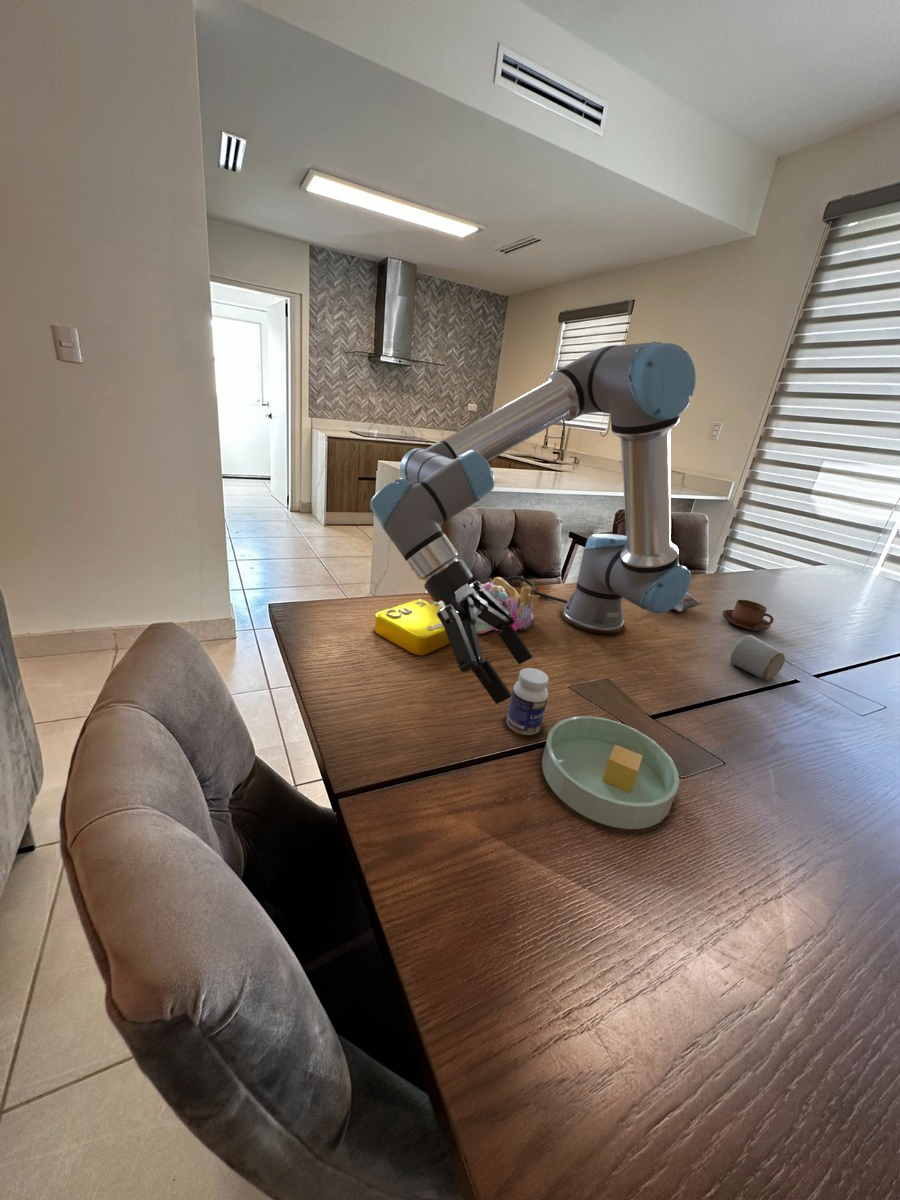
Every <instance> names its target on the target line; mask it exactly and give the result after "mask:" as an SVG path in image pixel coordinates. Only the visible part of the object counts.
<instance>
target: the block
mask: <svg viewBox="0 0 900 1200" xmlns="http://www.w3.org/2000/svg"><path fill="white" fill-rule="evenodd" d="M642 757H643V756H642V755H640V754H637V753H635V752H633V751H630V750H628V749H625V748H623V747H620V746H618V745H616V744H615V745H614V748H613V750H612V753H611V755H610V758H609V761H608V764H607V767H606V770H605V773H604V777H603V780H602V781H604V782H606V783H608V784H610V785H613V786H615V787H617V788H619V789H622V790H624V791H626V792H628V793H631V791H632V788H633V785H634V782H635V779H636V776H637V773H638V770H639V767H640V764H641V760H642Z"/></svg>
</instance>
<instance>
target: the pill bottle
mask: <svg viewBox="0 0 900 1200" xmlns="http://www.w3.org/2000/svg"><path fill="white" fill-rule="evenodd" d="M549 678H550V677H549V676H548V674H546V673H545V672H544V671H543V670H541V669H537V668H533V667H525V668H522V669H521V670H519V673H518V677H517V680H518V681H516V682H515V684H514V685H513V688H512V692H511V694H512V696H511V697H510V702H509V708H508V710H507V716H506V724H507V726H508V727H509V728H510V729H511V730H512V731H514V732H516V733H518V734H521V735H525V736H526V735H529V736H530V735H531V736H532V735H535V734H537V733H539V732H540V731H541V729H542V724H543V719H544V715H545V711H546V708H547V707H546V706H547V703H548V702H547V701H548V698H549V690H548V689H547V687H548V684H549V680H550V679H549Z"/></svg>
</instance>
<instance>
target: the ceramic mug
mask: <svg viewBox="0 0 900 1200" xmlns="http://www.w3.org/2000/svg"><path fill="white" fill-rule="evenodd" d="M785 663H786V656H785V654H784V653H783V652H782V651H781V650H780V649H778V648H776V647H774V646H772V645H771V644H768V643H766V642H764V641H763V640H761V639H759V638H757V637H755V636H754V635H751V634H748V635H746V636H744V637H742V638H741V639H740V640H739V642H738V643H737V644H736V645H735V647H734V648H733V651H732V653H731V655H730V664H732V665H733V666H736V667H737V668H739V669H741V670H743V671H745V672H747V673H749V674H751V675H753V676H755V677H757V678H759V679H762V680H765V681H769V680H771V679H774V678H775V677H776V676H777V675H778V674H779V673H780V671H781V670H782V668H783V666H784V664H785Z"/></svg>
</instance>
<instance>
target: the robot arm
mask: <svg viewBox="0 0 900 1200" xmlns="http://www.w3.org/2000/svg"><path fill="white" fill-rule="evenodd" d="M696 374H697V373H696V368H695V364H694V361H693V359H692V357H691V355H690V354H689V353H688V352H687V350H684V348H683V347H682V346H681V345H679V344H676V343H672V342H661V341H658V342H657V341H652V342H651V341H650V342H641V343H640V342H639V343H631V344H630V343H629V344H620V345H619V344H617V345H616V344H615V345H606V346H603V347H600V348H597V349H595V350H593V351H591V352H589V353H587V354H585V355H582V356H580V357H579V358H577V359H575V360H573V361H572V362H570V363H568V364H566V365H565V366H562V367H561V368H559V369H557V370H555V371H553V372H552V373H550V374H549V375H548V376H547V379H546V382H545V383H543V384H542V385H539V386H538V387H536V388H534V389H532V390H531V391H529V392H527V393H525V394H523V395H521V396H520V397H518V398H516V399H514V400H512V401H511V402H509V403H507V404H505V405H503V406H502V407H500V408H498V409H496V410H494V411H493V412H491V413H489V414H487V415H486V416H483V417H481V418H480V419H478V420H476V421H474V422H473V423H471V424H469V425H467V426H466V427H464V428H462V429H460V430H458V431H456V432H455V433H453V434H451V435H449V436H447V437H446V438H444V439H442V440H440V441H438V442H435V443H434V444H432V445H430V446H429V447H427V448H424V447H418V448H413V449H410V450H409V451H407V452H406V453H405V454H404V456H403V457H402V459H401V461H400V466H399V473H400V476H401V478H400V477H399V478H396V479H395V480H393V481H391V482H389V483H387V484H386V485H384V486H383V487H382V488H380V489H379V490H378V491H377V492H376V493H375V494H374V495H373V496H372V498H371V500H370V506H369V507H370V510H371V511H372V513H373V514H374V516H375V518H376V520H377V521H378V522H379V525H380V526H381V528H382V529H383V531H384V532H385V534H386V535H387V536H388V538H389V539H390V541H391V542H392V543H393V545H394V546H395V547H396V548H397V550H398V552H399V553H400V555H401V556H402V557H403V559H404V561H406V563H407V564H408V566H409V567H410V570H411V571H412V572H413V573H414V574H415V576H416V577H417V579H418V580H419V581H424V582H425V583H424V584H423V588H424V589H425V591H426V592H427V593H428V596H429V597H430V599H431V598H432V599H433V601H434V602H440V601H443V602H444V604H445V607H444V608H442V609H441V610H439V611H438V612H437V616H438V617H439V619H440V621H441V622H442V624H443V626H444V628H445V631H446V634H447V636H448V639H449V642H450V647H451V649H452V652H453V655H454V657H455V660H456V663H457V666H458V668H459V671H461V672H462V673H468V672H470V671H472V672H473V673H474V675H475V676H476V678H477V679H478V681H479V682H480V684H481V685H482V687H484V689H485V691H487V693H488V695H489V697H490V698H491V699H492V700H493V702H494V703H495V705H499V704H500V703H502V702H504V701H506V700H508V699H511V697H512V692H510V690H509V689H508V687H507V685H506V684H505V683H504V682H503V680H502V679H501V677H500V676H499V674H498V673H497V671H496V670H495V669H494V667H493V666H492V664H491V663H490V661H489V660H488V659H485V660H484V657H483V653H482V650H481V645H480V641H479V637H478V633H476V629H475V623H476V618H477V617H478V618H480V619H481V620H483V621H484V622H486V623H488V624H489V625H491V626H492V627H494V628H496V629H497V630H499V631H498V637H499V638H500V639H501V640H502V642H503V644H504V645H505V647H506V648H507V649H508V651H509V652H510V654H511V656H513V658H514V660H515V661H516V663H517V664H518V665H520V664H522V663H525V662H527V661H529V660H531V659H532V658H533V655H532V654H531V652H530V650H529V649H528V647H527V645H525V643H524V641H523V640H522V639H521V637H520V635H519V634H518V633H517V631H515V630H514V629H513V627H512V626H511V625H512V624H514V623H515V620H514V618H513V617H512V615H511V613H510V612H509V611H507V610H506V609H505V608H504V607H503V606H502V605H501V604H500V603H499V602H498V601H497V600H496V599H495V598H494V597H492V596H491V595H490V594H489V593H488V592H487V591H486V590H485V589H484V587H483V586H482V585H481V584H482V583H481V582H480V581H479V580H475V581H473V582H472V583H471V584H470V583H469V582H470V581H472V579H473V577H474V575H473V573H472V571H471V570H470V569H469V568H468V565H466V563H465V561H464V560H462V559H459V558H458V557H459V552H458V551H457V549H456V548H455V546H454V545H453V544H452V542H451V541H450V540H449V538H448V537H447V535H446V534H445V533H444V531H443V530H442V528H441V526H442V525H444V524H445V523H447V521H449V520H451V519H452V518H454V517H455V516H457V515H459V514H460V513H461V512H463V511H465V510H466V509H468V508H469V507H471V506H472V505H474V504H475V503H477V502H480V501H481V499H482V498H484V497H486V495H488V494H489V493H490V492H491V491H492V490H493V489H494V488H495V484H496V477H495V474H494V471H493V469H492V467H491V465H490V463H489V462H490V461H492V460H494V459H495V458H497V457H499V456H500V455H502V454H504V453H506V452H507V451H510V450H512V449H513V448H514V447H516V446H518V445H520V444H521V443H524V442H525V441H527V440H529V439H531V438H532V437H534V436H536V435H538V434H539V433H541V432H543V431H545V430H547V429H548V428H550V427H552V426H553V425H556V424H557V423H559V422H561V421H564V422H571V421H573V420H575V419H577V418H578V417H580V416H584V415H587V414H594V413H603V414H609V415H610V427H611V433H612V434H614V435H615V436H616V437H618V438H619V440H620V451H621V452H620V453H621V469H622V483H623V500H624V502H623V503H624V519H625V533H626V534H625V535H623V534H613V533H593V534H591V535H590V536H589V537H588V538H587V540H586V543H585V546H584V548H583V553H582V557H581V562H580V567H579V572H578V577H577V580H576V585H575V589H574V591H573V592H572V594H571V595H570V597H569V598H568V599H564V598H560V597H557V596H554V595H553V596H552V595H550V594H546V593H543V592H540V591H538V590H536V585H535V584H534V583H533V582H532V581H530V580H528V579H526V578H524V577H521V576H517V575H515V576H511V577H509V578H508V580H509V581H512V580H518V581H522V582H523V583H525V584H526V585H529V586H531V587H532V590H531V592H532V593H533V594H534V595H539V597H543V598H546V599H549V600H552V601H556V602H560V603H563V604H564V606H563V610H562V614H561V616H562V619H564V621H565V622H567V623H568V624H569V625H571V626H572V627H575V628H577V629H579V630H582V631H584V632H589V633H594V634H598V635H599V634H600V635H611V634H612V635H613V634H617V633H619V632H621V631H622V629H623V625H624V621H625V620H624V609H623V607H624V606H623V599H625V600H627V601H628V602H630V603H632V604H633V605H635V606H637V607H639V608H640V609H642V610H645V611H648V612H650V613H653V614H657V615H658V614H659V615H660V614H665V613H666V612H669V611H672V610H671V609H672V608H673V607H675V606H676V605H677V604H678V603H679V602H680V601H681V600H682V598H683V597H684V596H685V594H686V593H688V592H689V589H690V586H691V583H692V574H691V571H690V570H689V569H688V568H687V567H686V566H685V565H680V561H679V560H680V559H679V554H680V551H679V548H678V546H677V545H676V544H674V543H673V542H672V540H671V539H672V537H671V534H672V531H671V529H672V528H671V527H672V525H671V523H672V522H671V512H672V511H671V431H672V429H673V428H674V427H675V426H676V425H677V424H678V423H679V422H680V416H681V414H683V412H685V411H686V409H687V408H688V406H689V405H690V403H691V399H690V397H693V396H694V393H695V389H696V384H697V383H696V381H697V376H696ZM502 614H504V615H502ZM451 620H452V621H451ZM497 630H496V631H497ZM501 630H502V631H501Z"/></svg>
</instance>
